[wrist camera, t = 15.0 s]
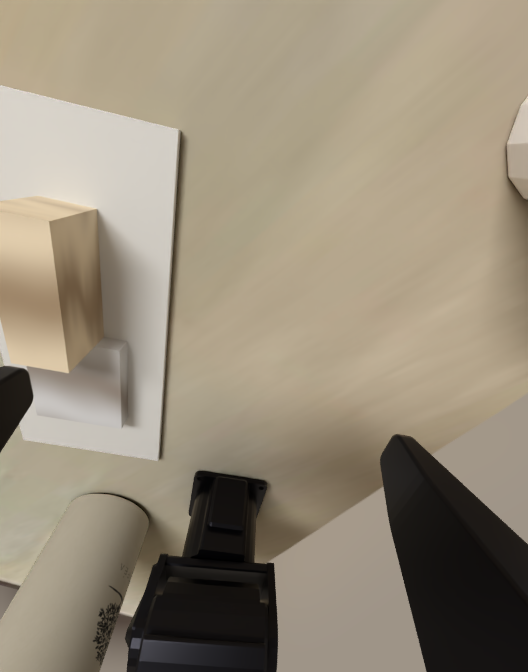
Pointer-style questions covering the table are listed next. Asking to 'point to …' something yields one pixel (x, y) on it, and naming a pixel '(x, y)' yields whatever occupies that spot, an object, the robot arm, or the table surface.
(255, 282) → the table surface
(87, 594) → the travel mug
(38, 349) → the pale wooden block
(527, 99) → the white cup
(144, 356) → the mat
